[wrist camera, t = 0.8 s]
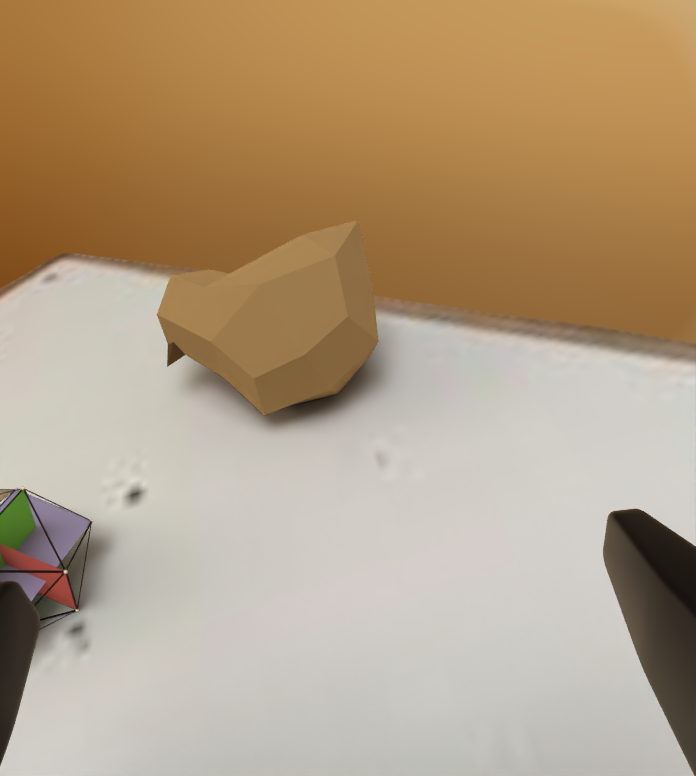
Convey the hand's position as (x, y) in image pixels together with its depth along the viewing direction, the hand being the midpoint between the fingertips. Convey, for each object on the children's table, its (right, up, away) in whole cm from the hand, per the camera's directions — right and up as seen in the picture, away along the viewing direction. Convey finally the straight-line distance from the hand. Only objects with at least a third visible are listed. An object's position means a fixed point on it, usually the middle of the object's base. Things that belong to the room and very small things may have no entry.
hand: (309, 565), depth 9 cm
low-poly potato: (-4, +3, +30) cm, 30 cm away
